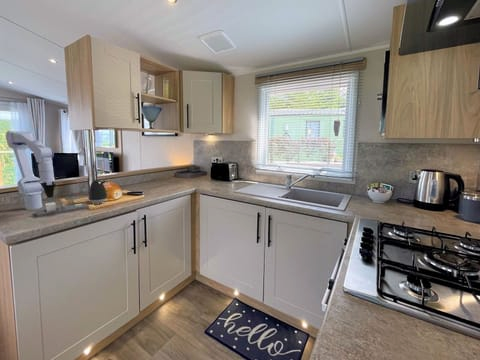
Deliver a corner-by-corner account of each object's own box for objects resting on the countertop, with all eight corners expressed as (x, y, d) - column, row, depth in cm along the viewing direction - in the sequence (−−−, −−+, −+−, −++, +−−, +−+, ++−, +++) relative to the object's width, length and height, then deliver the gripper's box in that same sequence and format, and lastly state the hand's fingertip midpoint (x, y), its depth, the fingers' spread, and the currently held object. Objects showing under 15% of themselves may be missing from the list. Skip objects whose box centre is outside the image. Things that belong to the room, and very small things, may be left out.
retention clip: (63, 204, 120) (63, 201, 120) (59, 201, 126) (58, 198, 125) (68, 203, 121) (68, 201, 121) (64, 200, 127) (63, 198, 127)
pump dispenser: (104, 205, 141) (102, 180, 139) (86, 205, 140) (83, 181, 137) (110, 201, 151) (108, 178, 149) (93, 201, 150) (91, 178, 147)
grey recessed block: (36, 214, 122) (34, 204, 121) (85, 206, 137) (84, 197, 136) (37, 219, 116) (36, 207, 115) (88, 210, 131) (87, 200, 130)
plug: (46, 212, 123) (45, 203, 122) (55, 211, 126) (54, 202, 125) (47, 214, 120) (46, 205, 119) (57, 212, 123) (55, 203, 122)
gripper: (34, 170, 122) (38, 195, 124) (37, 173, 111) (40, 200, 114) (51, 169, 126) (55, 193, 129) (55, 171, 116) (58, 198, 119)
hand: (49, 196), depth 122 cm, fingers open, 5 cm apart
